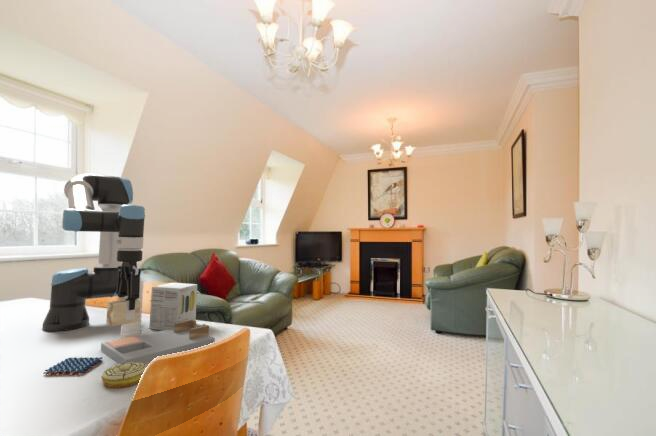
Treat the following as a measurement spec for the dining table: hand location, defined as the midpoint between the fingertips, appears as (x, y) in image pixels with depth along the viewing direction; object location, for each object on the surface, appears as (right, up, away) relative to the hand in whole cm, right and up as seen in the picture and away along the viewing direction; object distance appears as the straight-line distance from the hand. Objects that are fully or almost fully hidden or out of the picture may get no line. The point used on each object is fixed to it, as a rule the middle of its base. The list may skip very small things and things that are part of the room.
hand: (126, 317), depth 111 cm
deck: (+10, -11, +3) cm, 15 cm away
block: (-1, -1, -1) cm, 2 cm away
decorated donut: (+14, -10, -23) cm, 29 cm away
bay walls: (+18, -9, +11) cm, 23 cm away
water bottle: (-5, -12, +13) cm, 18 cm away
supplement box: (+3, -13, +28) cm, 31 cm away
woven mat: (-5, -11, -17) cm, 20 cm away
